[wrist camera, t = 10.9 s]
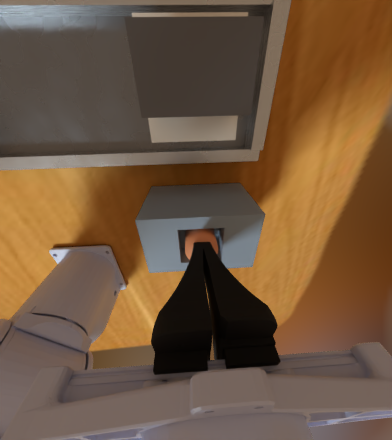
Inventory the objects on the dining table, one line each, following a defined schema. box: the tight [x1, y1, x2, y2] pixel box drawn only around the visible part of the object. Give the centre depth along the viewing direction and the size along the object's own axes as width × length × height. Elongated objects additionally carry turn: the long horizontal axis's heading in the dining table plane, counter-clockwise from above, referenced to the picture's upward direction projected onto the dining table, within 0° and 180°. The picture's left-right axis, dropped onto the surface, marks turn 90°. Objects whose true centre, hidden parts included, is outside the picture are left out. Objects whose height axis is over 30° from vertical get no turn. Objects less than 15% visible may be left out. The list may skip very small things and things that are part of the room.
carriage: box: [124, 12, 264, 143], centre depth 9 cm, size 6×6×7 cm
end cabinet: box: [135, 183, 265, 273], centre depth 17 cm, size 6×10×7 cm, turn 91°
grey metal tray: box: [0, 0, 291, 170], centre depth 12 cm, size 10×25×3 cm, turn 91°
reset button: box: [185, 228, 218, 260], centre depth 14 cm, size 3×3×2 cm
